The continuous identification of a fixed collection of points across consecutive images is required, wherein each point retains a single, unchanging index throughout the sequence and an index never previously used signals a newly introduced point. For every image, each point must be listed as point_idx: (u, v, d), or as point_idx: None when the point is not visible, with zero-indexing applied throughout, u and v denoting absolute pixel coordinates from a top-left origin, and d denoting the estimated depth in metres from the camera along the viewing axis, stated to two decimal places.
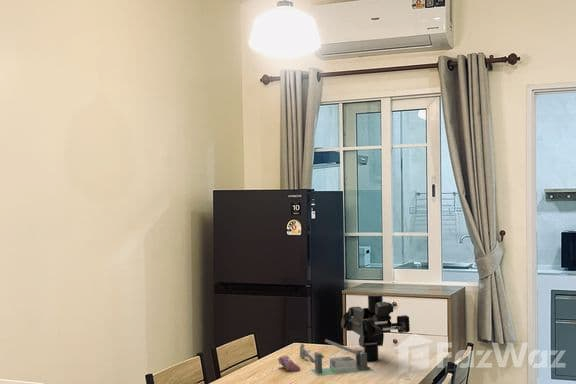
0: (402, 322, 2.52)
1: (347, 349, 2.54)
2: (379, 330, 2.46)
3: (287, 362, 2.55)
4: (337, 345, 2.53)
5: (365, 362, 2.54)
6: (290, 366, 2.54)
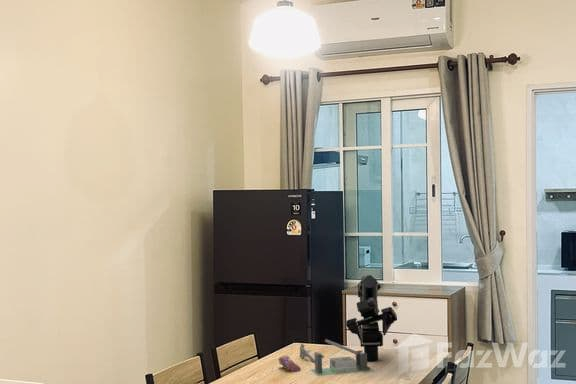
0: (383, 321, 2.48)
1: (347, 349, 2.54)
2: (359, 339, 2.50)
3: (287, 362, 2.55)
4: (337, 345, 2.53)
5: (365, 362, 2.54)
6: (290, 366, 2.54)
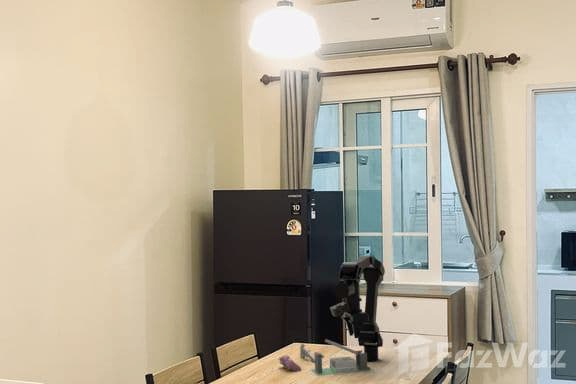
0: (352, 326, 2.51)
1: (347, 349, 2.54)
2: None
3: (288, 362, 2.55)
4: (337, 345, 2.53)
5: (365, 362, 2.54)
6: (291, 366, 2.55)
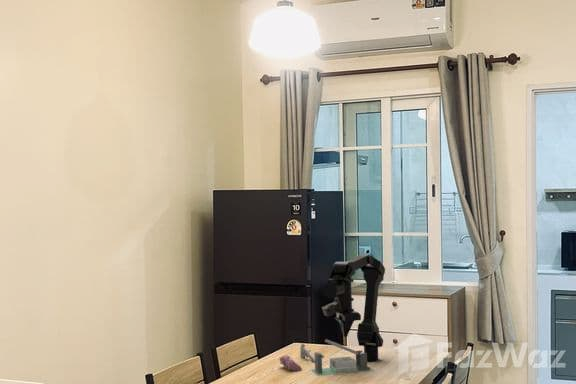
0: (342, 324, 2.53)
1: (347, 349, 2.54)
2: None
3: (288, 362, 2.55)
4: (337, 345, 2.53)
5: (365, 362, 2.54)
6: (291, 366, 2.55)
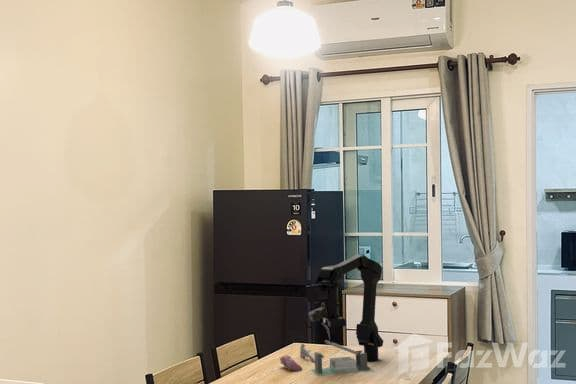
0: (328, 330, 2.53)
1: (347, 349, 2.54)
2: None
3: (289, 362, 2.55)
4: (337, 346, 2.53)
5: (365, 362, 2.54)
6: (292, 366, 2.55)
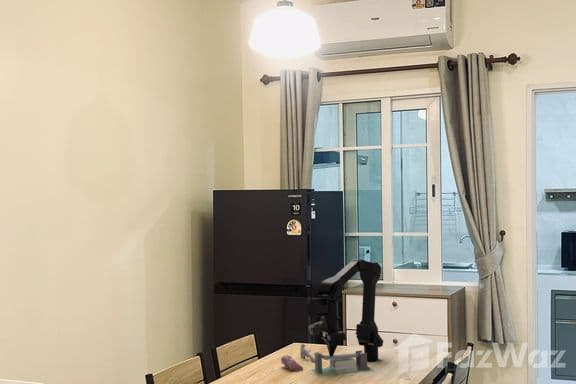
0: (328, 344, 2.53)
1: (346, 356, 2.54)
2: None
3: (290, 362, 2.55)
4: (335, 357, 2.53)
5: (365, 362, 2.54)
6: (293, 366, 2.55)
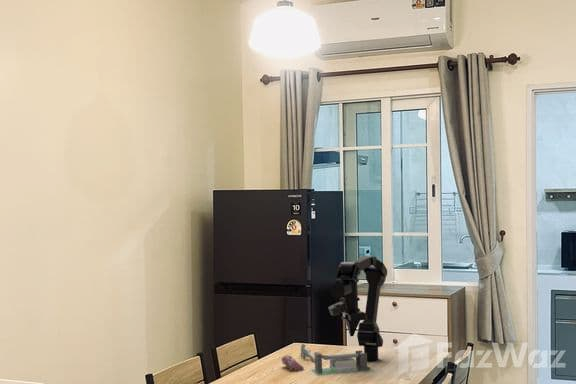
0: (348, 324, 2.55)
1: (346, 356, 2.54)
2: None
3: (290, 362, 2.55)
4: (335, 357, 2.53)
5: (365, 362, 2.54)
6: (293, 366, 2.55)
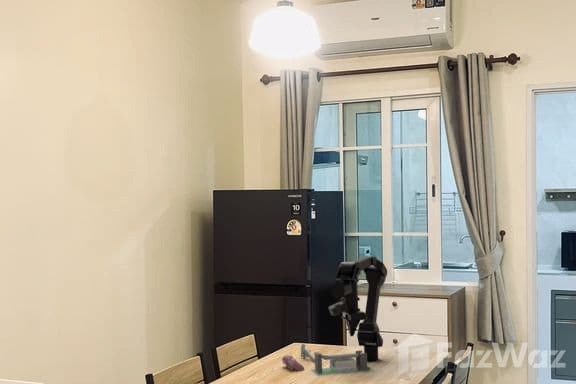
0: (348, 324, 2.55)
1: (346, 356, 2.54)
2: None
3: (291, 361, 2.55)
4: (335, 357, 2.53)
5: (365, 362, 2.54)
6: (294, 365, 2.55)
